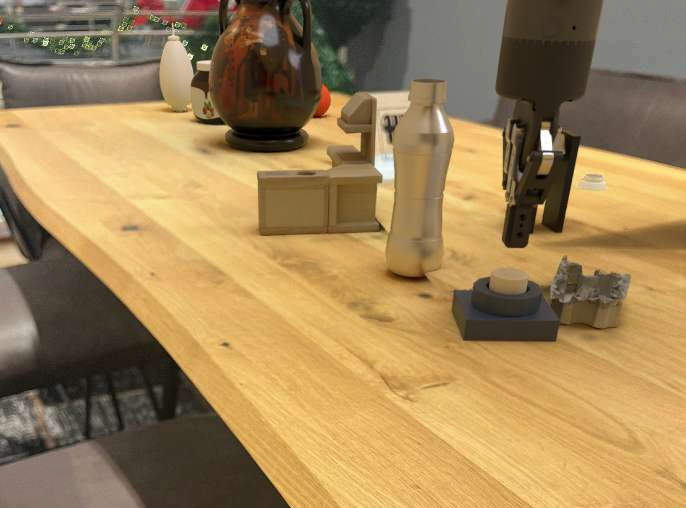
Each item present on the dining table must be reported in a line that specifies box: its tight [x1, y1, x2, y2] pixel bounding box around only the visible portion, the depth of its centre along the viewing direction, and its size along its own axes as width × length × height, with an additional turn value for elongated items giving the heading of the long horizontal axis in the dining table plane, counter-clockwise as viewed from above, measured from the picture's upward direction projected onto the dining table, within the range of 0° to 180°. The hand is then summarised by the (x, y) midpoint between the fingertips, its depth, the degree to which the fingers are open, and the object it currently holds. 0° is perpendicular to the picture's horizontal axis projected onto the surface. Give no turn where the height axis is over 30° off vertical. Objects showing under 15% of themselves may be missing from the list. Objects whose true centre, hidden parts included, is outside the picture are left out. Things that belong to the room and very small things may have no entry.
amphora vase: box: [208, 0, 323, 152], centre depth 142 cm, size 22×22×28 cm
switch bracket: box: [530, 129, 582, 235], centre depth 98 cm, size 7×7×13 cm
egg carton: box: [549, 255, 632, 329], centre depth 79 cm, size 11×8×4 cm
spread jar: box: [190, 59, 226, 125], centre depth 168 cm, size 12×11×12 cm
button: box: [489, 267, 530, 295], centre depth 74 cm, size 4×4×2 cm
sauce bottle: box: [158, 22, 195, 113], centre depth 177 cm, size 8×8×18 cm
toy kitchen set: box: [256, 91, 384, 236], centre depth 105 cm, size 18×17×15 cm
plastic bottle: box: [384, 78, 456, 278], centre depth 83 cm, size 6×7×20 cm
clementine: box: [312, 83, 332, 118], centre depth 176 cm, size 8×7×7 cm
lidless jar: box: [576, 173, 608, 192], centre depth 119 cm, size 5×3×5 cm
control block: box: [451, 275, 561, 343], centre depth 76 cm, size 9×8×4 cm
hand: (513, 245), depth 72 cm, fingers closed
